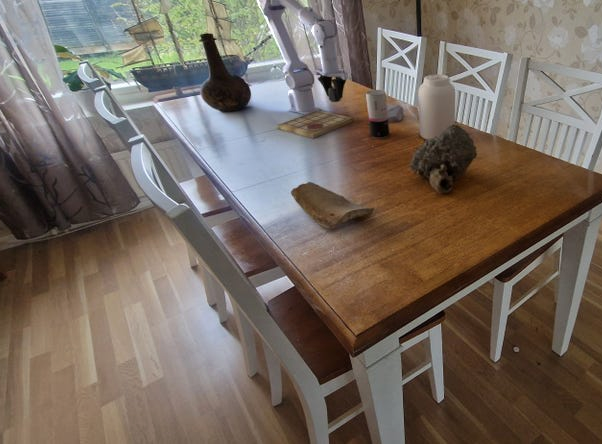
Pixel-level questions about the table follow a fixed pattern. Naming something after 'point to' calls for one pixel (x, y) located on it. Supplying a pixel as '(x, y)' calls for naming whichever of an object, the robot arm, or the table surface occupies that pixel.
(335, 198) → the fossil
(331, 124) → the board
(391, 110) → the stone block
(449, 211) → the table surface
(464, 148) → the encrusted bottle
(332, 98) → the black canister
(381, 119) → the beverage can
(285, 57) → the robot arm
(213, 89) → the glass bottle
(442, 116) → the white jar
